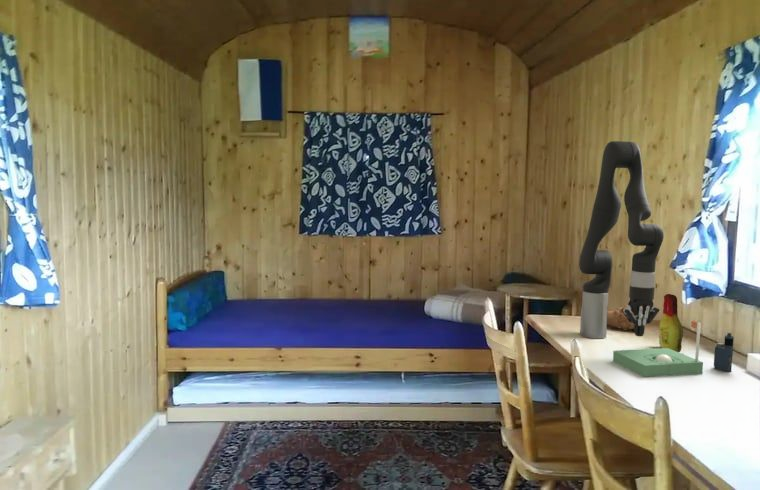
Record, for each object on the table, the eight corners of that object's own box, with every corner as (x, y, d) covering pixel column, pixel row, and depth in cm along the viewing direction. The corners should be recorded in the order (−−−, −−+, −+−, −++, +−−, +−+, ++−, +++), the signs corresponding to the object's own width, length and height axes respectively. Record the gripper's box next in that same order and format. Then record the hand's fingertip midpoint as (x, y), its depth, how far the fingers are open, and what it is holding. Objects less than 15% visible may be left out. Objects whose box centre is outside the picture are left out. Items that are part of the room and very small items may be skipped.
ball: (663, 369, 175) (653, 372, 179) (678, 368, 176) (667, 371, 180) (659, 353, 176) (649, 356, 181) (673, 352, 177) (663, 355, 182)
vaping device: (728, 372, 177) (730, 334, 175) (711, 367, 181) (714, 330, 180) (733, 371, 178) (736, 333, 177) (716, 366, 182) (719, 330, 181)
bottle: (653, 345, 207) (656, 291, 205) (672, 346, 206) (675, 291, 204) (665, 355, 195) (668, 297, 193) (685, 355, 194) (688, 298, 192)
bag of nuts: (620, 343, 224) (654, 330, 226) (614, 318, 222) (648, 305, 224) (595, 329, 243) (627, 318, 244) (589, 306, 241) (621, 295, 242)
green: (613, 361, 188) (615, 314, 186) (666, 358, 191) (669, 312, 190) (644, 377, 172) (647, 326, 170) (702, 373, 176) (705, 324, 174)
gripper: (652, 282, 193) (649, 331, 195) (617, 283, 190) (614, 333, 192) (667, 286, 186) (663, 338, 188) (631, 287, 183) (627, 339, 185)
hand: (638, 335), depth 190 cm, fingers closed
